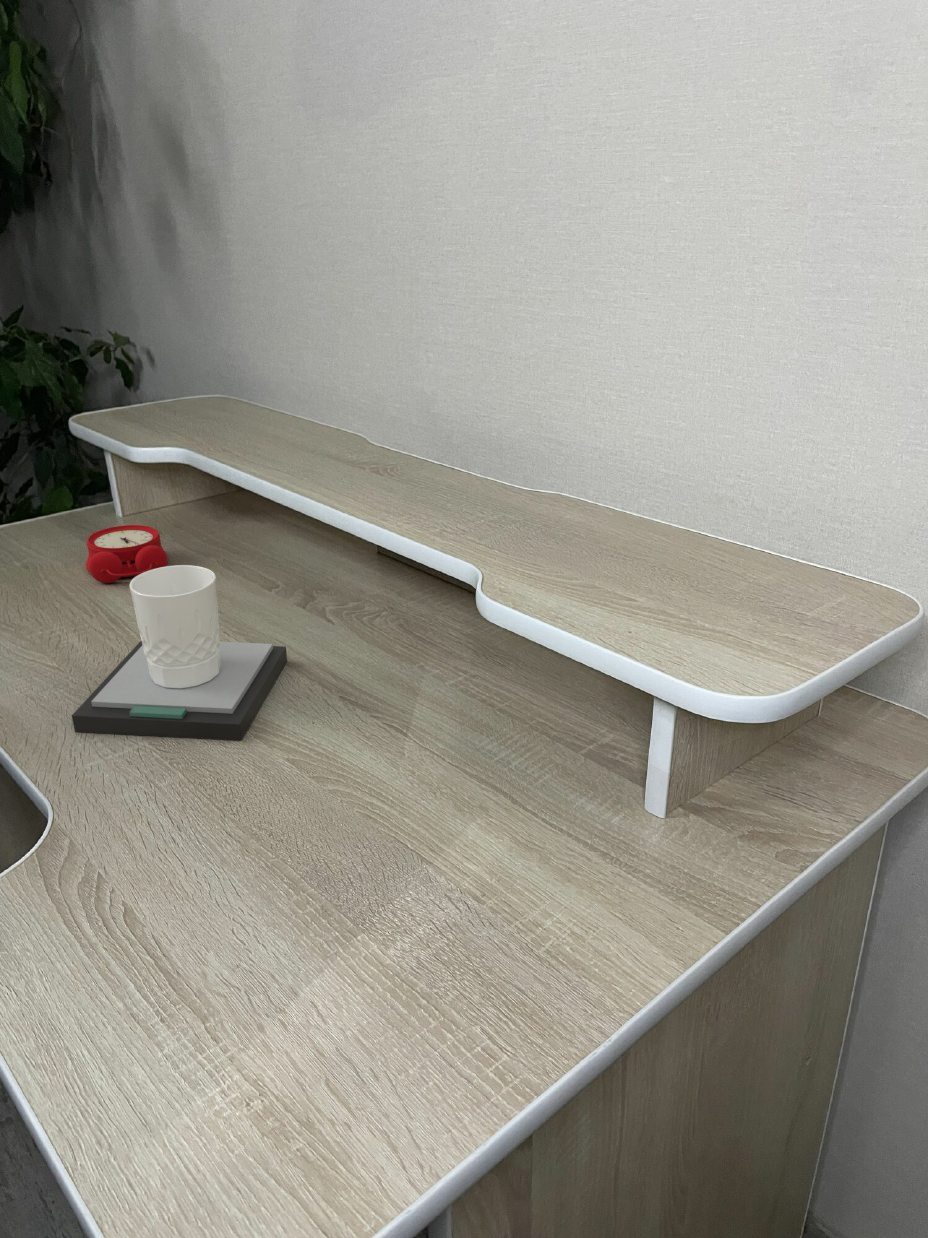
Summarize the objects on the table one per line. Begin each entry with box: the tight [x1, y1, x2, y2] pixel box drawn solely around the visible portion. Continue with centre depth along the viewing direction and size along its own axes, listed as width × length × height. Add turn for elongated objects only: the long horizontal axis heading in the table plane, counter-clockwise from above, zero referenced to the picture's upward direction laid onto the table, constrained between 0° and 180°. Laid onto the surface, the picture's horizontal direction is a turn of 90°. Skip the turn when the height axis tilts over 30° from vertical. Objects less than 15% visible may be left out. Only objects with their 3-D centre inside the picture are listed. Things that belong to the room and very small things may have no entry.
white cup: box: [129, 564, 221, 688], centre depth 91 cm, size 8×8×10 cm
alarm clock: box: [85, 524, 169, 584], centre depth 124 cm, size 10×6×15 cm
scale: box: [71, 640, 288, 742], centre depth 93 cm, size 16×16×2 cm
